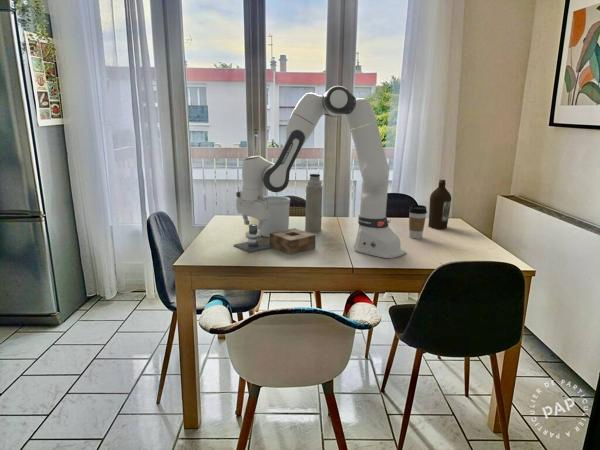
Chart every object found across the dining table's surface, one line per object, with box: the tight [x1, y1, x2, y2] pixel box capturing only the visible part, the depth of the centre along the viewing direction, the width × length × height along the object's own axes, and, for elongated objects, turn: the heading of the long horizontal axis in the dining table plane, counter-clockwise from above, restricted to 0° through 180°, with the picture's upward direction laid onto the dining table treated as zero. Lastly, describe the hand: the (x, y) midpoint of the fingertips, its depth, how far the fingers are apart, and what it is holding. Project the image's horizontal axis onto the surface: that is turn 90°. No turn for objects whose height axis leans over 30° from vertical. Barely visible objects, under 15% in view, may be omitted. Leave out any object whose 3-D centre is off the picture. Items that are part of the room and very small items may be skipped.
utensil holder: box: [259, 195, 291, 238], centre depth 204 cm, size 15×15×18 cm
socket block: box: [269, 227, 317, 255], centre depth 185 cm, size 14×14×6 cm
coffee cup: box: [408, 204, 428, 239], centre depth 205 cm, size 8×8×15 cm
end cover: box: [245, 223, 262, 247], centre depth 185 cm, size 6×6×9 cm
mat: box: [233, 240, 274, 254], centre depth 186 cm, size 12×12×1 cm
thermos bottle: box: [304, 173, 324, 233], centre depth 212 cm, size 8×8×28 cm
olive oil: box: [427, 179, 452, 230], centre depth 223 cm, size 11×11×25 cm
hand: (253, 226), depth 184 cm, fingers open, 8 cm apart
